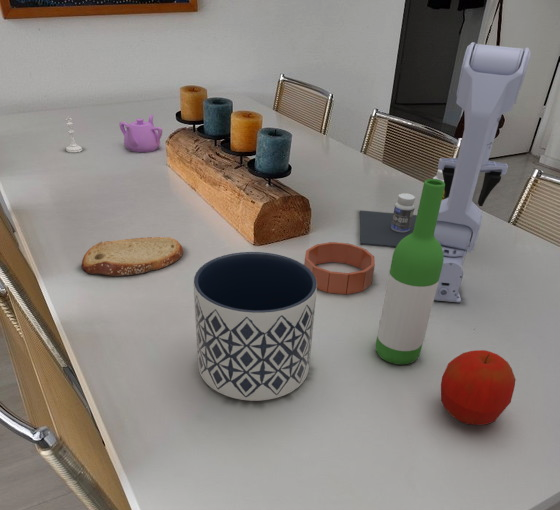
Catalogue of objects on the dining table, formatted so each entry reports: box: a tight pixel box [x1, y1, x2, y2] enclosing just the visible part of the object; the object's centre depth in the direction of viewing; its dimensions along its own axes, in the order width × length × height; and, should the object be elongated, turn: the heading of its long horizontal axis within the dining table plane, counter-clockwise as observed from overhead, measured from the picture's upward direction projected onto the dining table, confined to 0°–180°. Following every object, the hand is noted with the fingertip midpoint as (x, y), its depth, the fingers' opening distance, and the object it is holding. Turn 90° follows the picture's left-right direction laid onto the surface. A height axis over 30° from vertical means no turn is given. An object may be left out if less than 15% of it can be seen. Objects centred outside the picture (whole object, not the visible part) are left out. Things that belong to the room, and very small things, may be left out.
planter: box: [193, 251, 318, 402], centre depth 85 cm, size 18×18×16 cm
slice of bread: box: [81, 236, 184, 277], centre depth 116 cm, size 18×18×4 cm
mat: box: [359, 210, 417, 248], centre depth 136 cm, size 20×20×1 cm
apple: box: [440, 349, 517, 426], centre depth 80 cm, size 10×10×12 cm
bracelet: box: [303, 241, 376, 295], centre depth 114 cm, size 14×14×4 cm
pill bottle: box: [391, 192, 416, 233], centre depth 133 cm, size 5×5×8 cm
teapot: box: [118, 113, 163, 153], centre depth 176 cm, size 12×14×9 cm
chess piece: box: [65, 115, 83, 153], centre depth 170 cm, size 5×5×10 cm
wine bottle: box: [375, 178, 445, 366], centre depth 85 cm, size 8×8×30 cm
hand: (462, 203), depth 124 cm, fingers open, 7 cm apart
